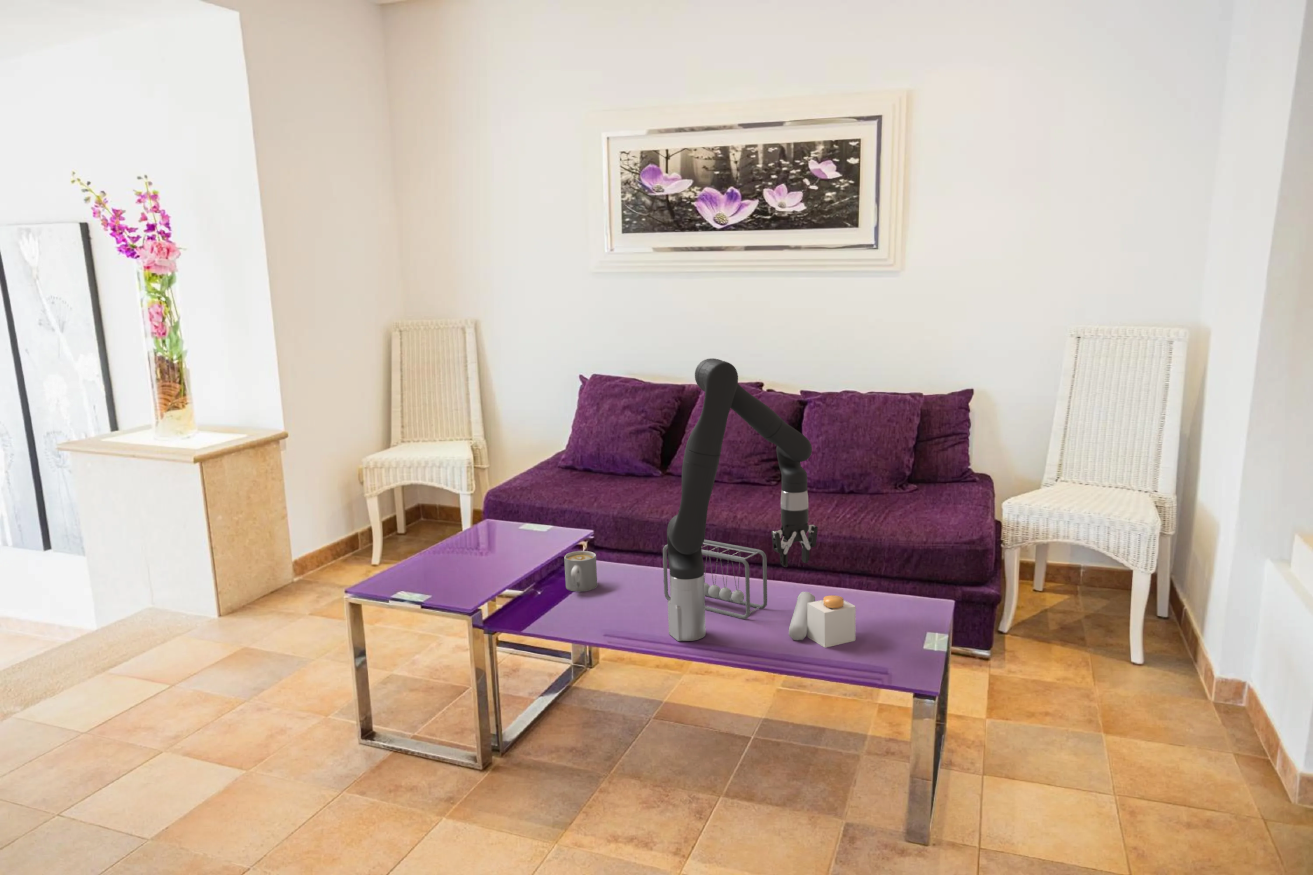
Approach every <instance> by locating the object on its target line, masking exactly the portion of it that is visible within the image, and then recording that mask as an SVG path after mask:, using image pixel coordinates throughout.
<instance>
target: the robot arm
mask: <svg viewBox="0 0 1313 875" xmlns="http://www.w3.org/2000/svg"><path fill="white" fill-rule="evenodd" d="M694 381H695V383H696V385H697V386H698V388H699V389H701V390H702V391H703V392H704V400H703V405H702V410H701V413H700V415H699V418H698V420H697V422H696V424H695V426H694V427H693V429H692V430H691V432H690V434H689V437H688V439H687V441H686V445H685V449H684V450H685V451H684V455H683V460H682V466H681V498H680V503H679V508H678V512H677V514H676V515H674V516H673V517H672V518H671V519H670V520H669V521H668V524H667V528H666V529H667V530H666V542H667V544H666V545H667V546H668V548H667V563H668V568H669V586H670V587H669V588H670V590H669V591H670V592H669V596H670V597H671V600H669V601H668V600H667V618H668V619H667V621H668V635H670V636H671V637H672V638H673V639H674V640H676V641H677V642H689V641H690V642H692V641H698V640H701V639H703V638H705V637H706V632H707V631H706V627H707V626H706V610H705V606H706V598H705V597H706V596H705V592H704V578H705V564H704V559H703V555H702V550H703V545H704V544H703V542H704V540H706V527H707V518H708V517H707V516H708V510H709V509H708V508H709V502H710V499H711V495H712V492H713V489H714V484H715V480H716V476H717V472H718V469H719V468H718V467H719V464H720V458H721V452H722V447H723V442H724V436H725V432H726V427H727V422H728V417H729V413H730V411H731V410H732V411H733V412H734V413H736V414H737V415H738V416H739V417H740V418H741V419H742V420H743V421H745V423H747V424H748V425H749V426H750V427H751V428H752V429H753V430H754V431H756V432H757V433H758V434H759V435H760V436H761V437H763V439H764V440H766V441H767V442H769V443H771V444H774V445H775V446H776V456H777V461H778V467H779V470H780V473H781V474H780V475H781V493H780V494H781V495H780V523H781V527H780V529H778V530H772V531H771V541H772V543H771V544H772V548H773V549H772V550H773V551H774V552H776V553H778V554H779V563H780V565H781V566H782V567H784V568H787V567H788V565H789V560H788V559H789V556H788V552H789V549H790V548H791V547H792V544H794V543H797V542H799V543H800V545H801V562H802V563H804V564H808V563H809V561H810V550H811V549H812V548H815V547H816V546H817V540H818V530H819V527H818V526H817V525H814V524H813V523H810V524H808V523H809V495H808V473H807V471H806V470H805V469H804V468H803V467H802V465H801V464H802V463H803V462H805V461H807V460H808V459H809V458H810V457H811V456H812V453H813V446H812V443H811V441H810V440H809V439H808V438H807V437H806V435H804V434H803V433H801V432H800V431H799V430H797V429H795V428H794V427H793V426H791V425H790V424H788V423H787V422H786V421H784V420H783V418H781V417H780V415H779V414H777V413H776V412H775V411H774V410H773V409H771V408H770V407H769V406H768V405H767V404H765V402H763V401H761V400H759V399H758V398H756V397H755V396H754V395H752V394H751V393H750V392H748V391H747V390H746V389H745V388H744V387H742V386H741V385H740V384H739V383H738V382H739V374H738V371H737V368H736V366H734V365H733V364H732V363H731V362H728V361H725V360H722V359H719V358H718V359H717V358H706V359H704V360H702V361H701V362H699V363H698V365H697V366H696V368H695V371H694ZM807 533H808V534H807ZM807 535H808V536H807ZM781 538H782V539H781Z"/></svg>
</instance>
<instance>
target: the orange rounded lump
mask: <svg viewBox="0 0 1313 875" xmlns="http://www.w3.org/2000/svg"><path fill="white" fill-rule="evenodd" d="M822 600H823V604H824V606H826V607H828V608H829V609H831V610H833V609H838V608H840V607H842V606H843V605H844V597H842V596H840V595H836V594H835V595H831V594H830V595H826V596H824V597H823V599H822Z"/></svg>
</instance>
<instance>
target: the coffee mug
mask: <svg viewBox="0 0 1313 875" xmlns="http://www.w3.org/2000/svg"><path fill="white" fill-rule="evenodd" d="M563 562H564V576H565V578H564V579H565V589H566V590H567V591H570V592H578V593H579V592H588V591H591V590H594V589H596V588H597V587H598V572H597V571H598V568H597V556H596V553H595V552H592V551H588V550H578V551H572V552H568V553H566V554H565V555H564V561H563Z"/></svg>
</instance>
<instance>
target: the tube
mask: <svg viewBox="0 0 1313 875" xmlns="http://www.w3.org/2000/svg"><path fill="white" fill-rule="evenodd" d="M796 597H797V599H796V603H795V607H794V611H793V614H792V617H791V621H790V624H789V628H788V636H789V637H790V638H791V639H792V640H794V641H803V640H804V639H805V638H807V603H810V602H815V601H816V596H815V595H814V594H813V593H811V592H809V591H801V592H800V593H799V595H798V596H796Z"/></svg>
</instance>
